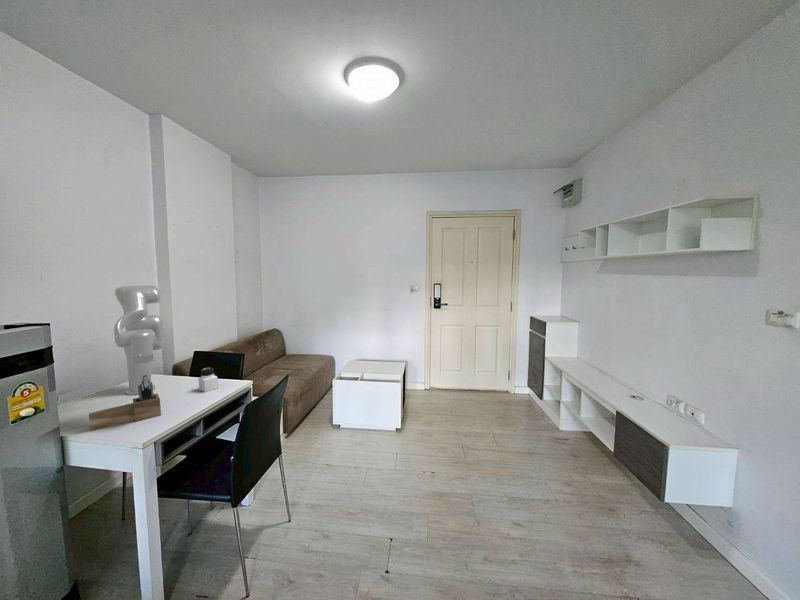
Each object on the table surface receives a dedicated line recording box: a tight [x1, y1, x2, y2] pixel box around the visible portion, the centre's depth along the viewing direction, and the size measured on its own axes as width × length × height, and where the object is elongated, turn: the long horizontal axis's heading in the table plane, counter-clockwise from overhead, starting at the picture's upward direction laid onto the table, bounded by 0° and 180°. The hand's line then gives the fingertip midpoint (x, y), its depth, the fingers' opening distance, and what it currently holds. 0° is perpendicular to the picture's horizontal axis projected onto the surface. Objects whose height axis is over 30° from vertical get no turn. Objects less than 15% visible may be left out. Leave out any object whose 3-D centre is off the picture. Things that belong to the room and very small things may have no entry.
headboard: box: [88, 392, 162, 432], centre depth 134 cm, size 9×23×8 cm, turn 134°
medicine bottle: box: [198, 367, 219, 393], centre depth 170 cm, size 7×7×12 cm
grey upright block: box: [137, 381, 154, 402], centre depth 138 cm, size 3×5×12 cm, turn 134°
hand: (145, 394), depth 138 cm, fingers open, 9 cm apart
